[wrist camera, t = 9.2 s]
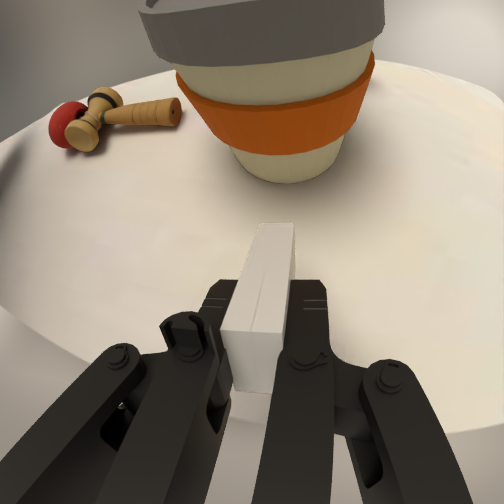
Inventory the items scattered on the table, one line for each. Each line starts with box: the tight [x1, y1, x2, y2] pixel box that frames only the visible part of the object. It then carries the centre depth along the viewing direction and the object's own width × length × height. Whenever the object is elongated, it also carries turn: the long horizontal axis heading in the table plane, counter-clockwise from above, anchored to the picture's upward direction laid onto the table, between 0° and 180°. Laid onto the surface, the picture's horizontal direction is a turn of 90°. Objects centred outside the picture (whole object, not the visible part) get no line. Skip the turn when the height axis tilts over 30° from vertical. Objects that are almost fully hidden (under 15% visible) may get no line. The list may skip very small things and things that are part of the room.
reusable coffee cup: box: [138, 0, 385, 183], centre depth 15 cm, size 13×13×15 cm
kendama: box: [49, 87, 182, 152], centre depth 25 cm, size 8×6×18 cm
